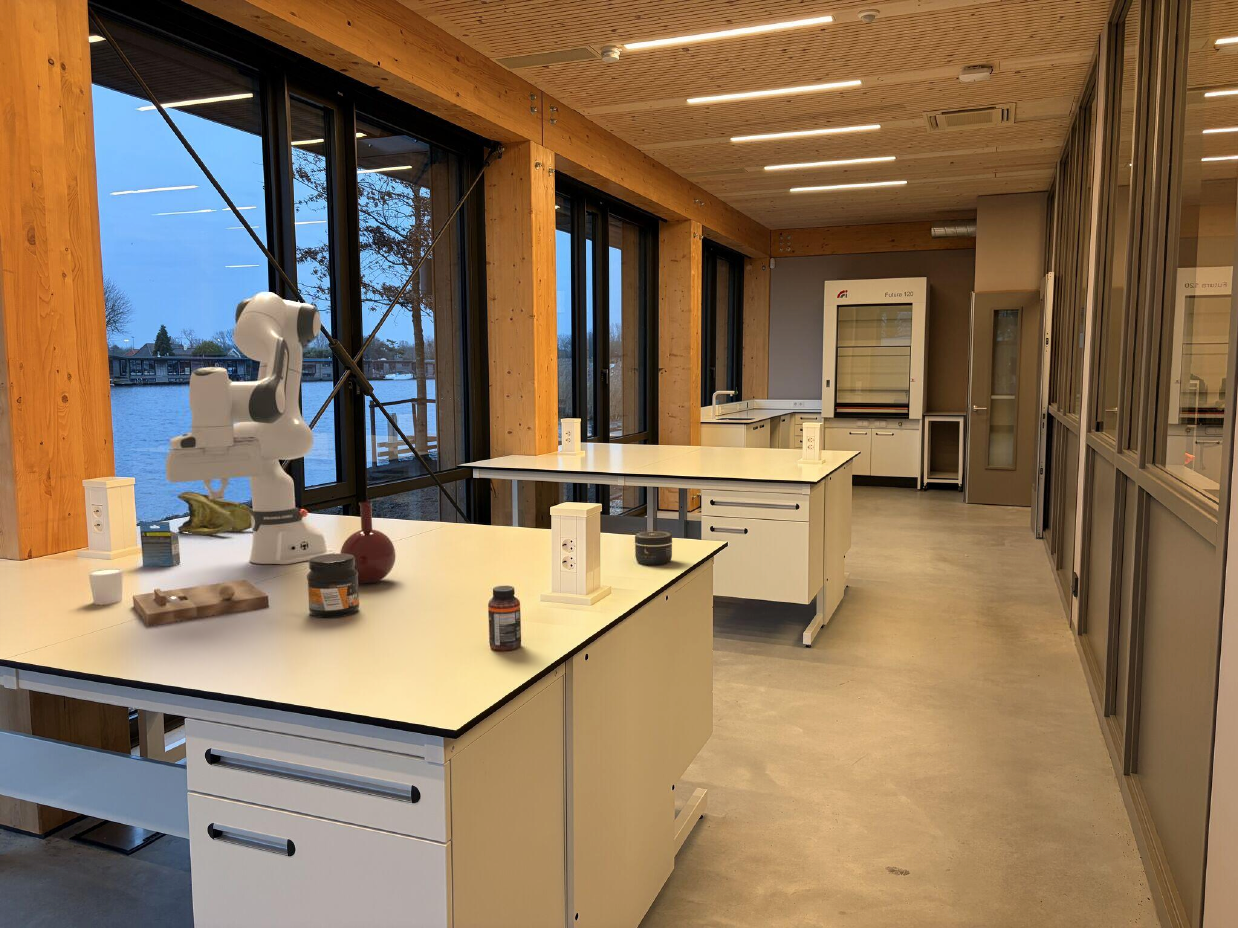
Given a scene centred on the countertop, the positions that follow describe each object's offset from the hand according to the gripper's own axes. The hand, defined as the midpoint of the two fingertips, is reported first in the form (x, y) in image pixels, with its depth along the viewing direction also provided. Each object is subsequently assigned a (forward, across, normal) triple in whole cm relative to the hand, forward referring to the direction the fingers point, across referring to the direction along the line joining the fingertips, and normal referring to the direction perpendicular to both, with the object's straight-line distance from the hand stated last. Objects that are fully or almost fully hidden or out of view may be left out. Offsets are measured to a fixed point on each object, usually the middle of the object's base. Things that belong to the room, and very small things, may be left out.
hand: (216, 498), depth 206 cm
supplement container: (+23, -16, +30) cm, 41 cm away
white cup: (+23, +22, -13) cm, 35 cm away
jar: (+23, -100, +35) cm, 109 cm away
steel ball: (+22, +12, +6) cm, 25 cm away
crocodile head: (+23, -19, -94) cm, 99 cm away
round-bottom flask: (+23, -32, +8) cm, 40 cm away
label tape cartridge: (+23, +5, -49) cm, 55 cm away
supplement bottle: (+23, -33, +75) cm, 85 cm away
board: (+23, +6, +6) cm, 25 cm away
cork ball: (+19, +2, +14) cm, 23 cm away
